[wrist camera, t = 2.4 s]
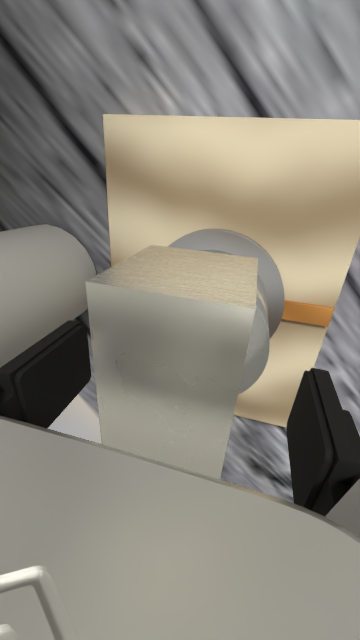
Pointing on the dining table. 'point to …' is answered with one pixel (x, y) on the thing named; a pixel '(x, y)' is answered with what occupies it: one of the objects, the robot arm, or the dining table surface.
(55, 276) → the can
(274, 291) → the base plate
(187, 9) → the dining table surface
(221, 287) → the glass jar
